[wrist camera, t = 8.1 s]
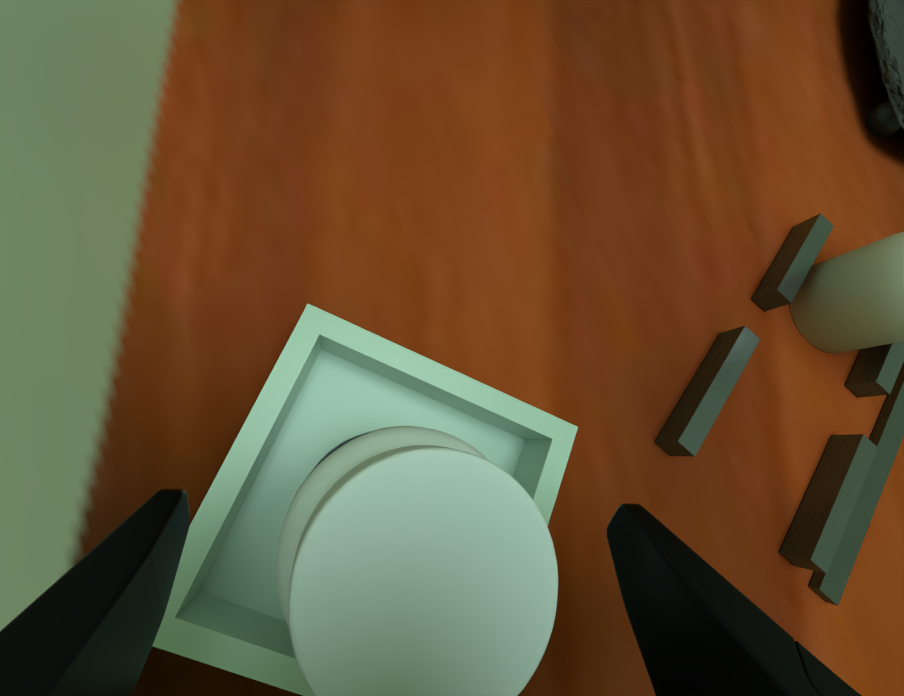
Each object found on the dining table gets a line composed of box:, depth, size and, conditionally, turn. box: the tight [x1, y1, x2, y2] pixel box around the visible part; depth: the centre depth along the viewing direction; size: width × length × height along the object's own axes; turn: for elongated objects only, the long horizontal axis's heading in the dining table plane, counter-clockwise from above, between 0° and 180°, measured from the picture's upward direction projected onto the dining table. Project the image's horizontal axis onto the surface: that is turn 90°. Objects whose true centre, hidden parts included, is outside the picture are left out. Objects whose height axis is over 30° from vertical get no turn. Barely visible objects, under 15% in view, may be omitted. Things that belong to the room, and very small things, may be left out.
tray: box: [152, 304, 578, 696], centre depth 16 cm, size 11×11×3 cm
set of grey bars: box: [655, 213, 904, 606], centre depth 23 cm, size 17×11×2 cm, turn 141°
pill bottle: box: [276, 426, 558, 696], centre depth 12 cm, size 6×6×10 cm
